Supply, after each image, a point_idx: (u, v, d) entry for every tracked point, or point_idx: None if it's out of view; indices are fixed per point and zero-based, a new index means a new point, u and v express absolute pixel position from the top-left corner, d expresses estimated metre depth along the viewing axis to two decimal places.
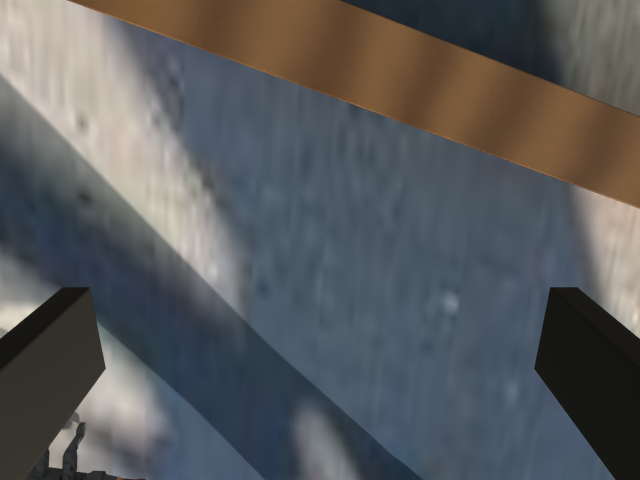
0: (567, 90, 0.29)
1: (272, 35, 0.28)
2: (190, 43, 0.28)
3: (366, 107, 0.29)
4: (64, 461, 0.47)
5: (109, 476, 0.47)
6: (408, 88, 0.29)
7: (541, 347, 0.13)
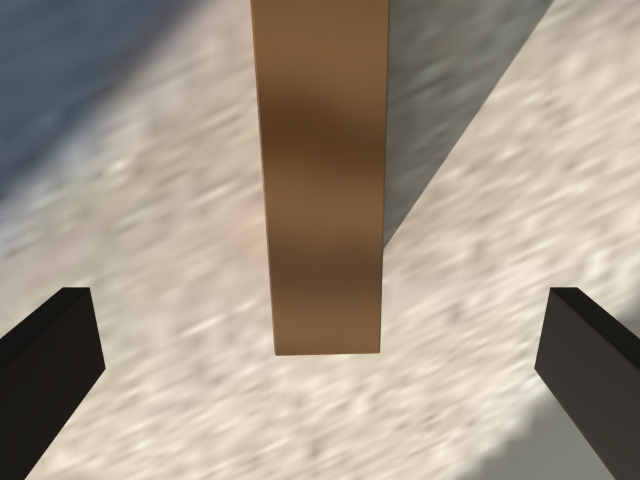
0: None
1: None
2: None
3: None
4: None
5: None
6: None
7: (541, 347, 0.13)
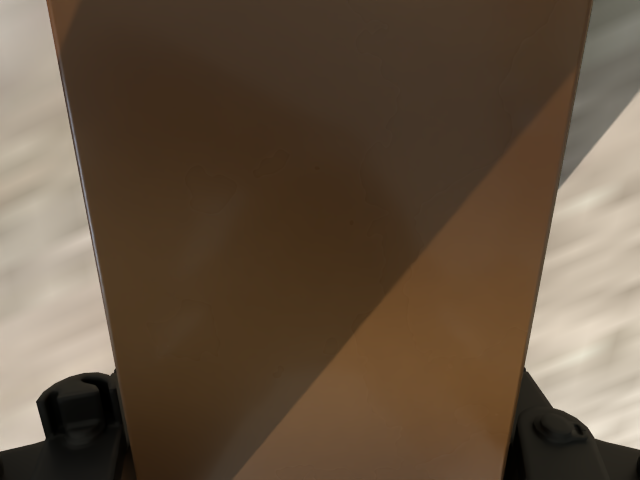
0: None
1: None
2: None
3: None
4: None
5: None
6: None
7: None
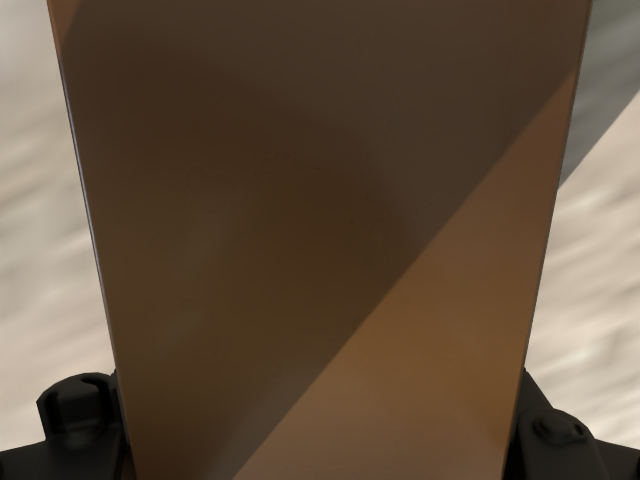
0: None
1: None
2: None
3: None
4: None
5: None
6: None
7: None
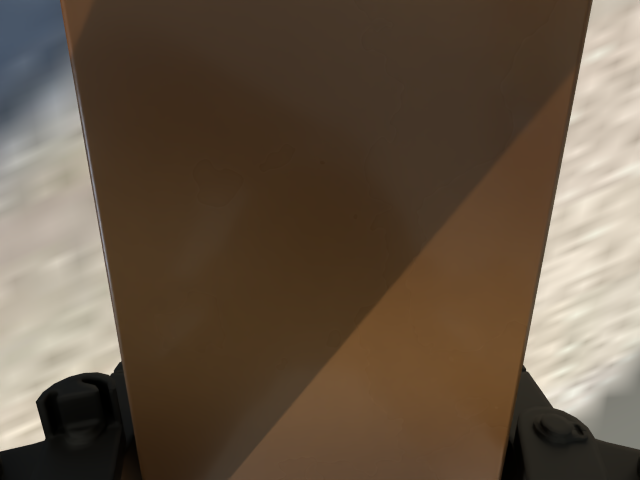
0: None
1: None
2: None
3: None
4: None
5: None
6: None
7: None
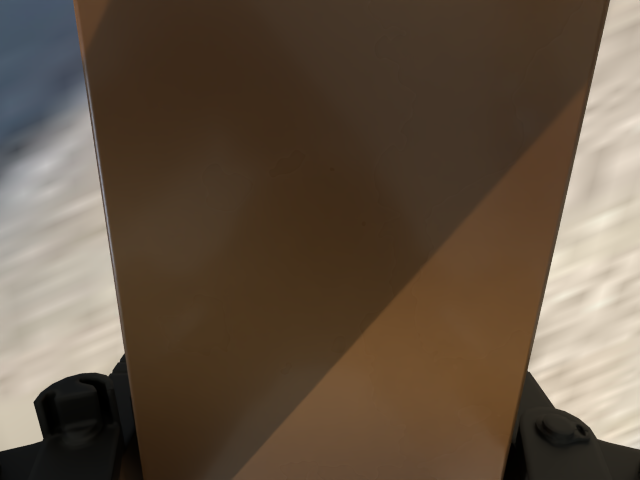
0: None
1: None
2: None
3: None
4: None
5: None
6: None
7: None
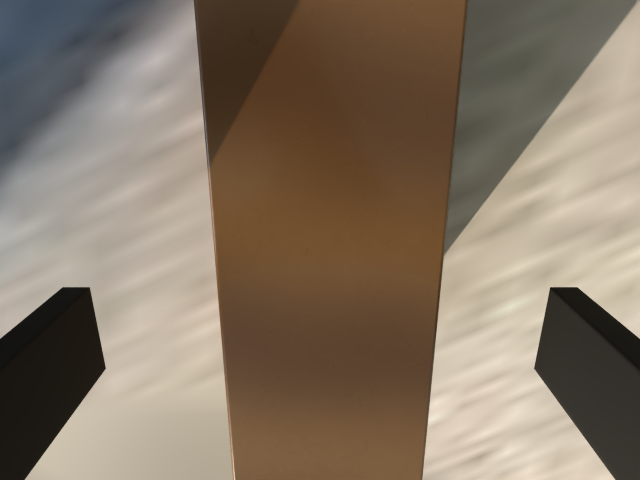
0: None
1: None
2: None
3: None
4: None
5: None
6: None
7: (541, 347, 0.13)
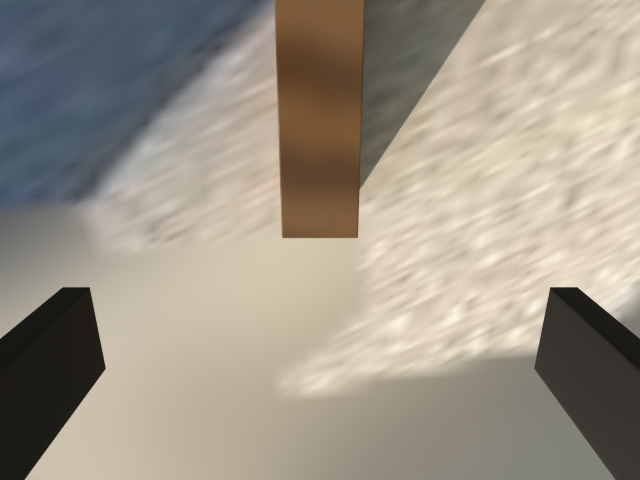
0: None
1: None
2: None
3: None
4: None
5: None
6: None
7: (541, 347, 0.13)
